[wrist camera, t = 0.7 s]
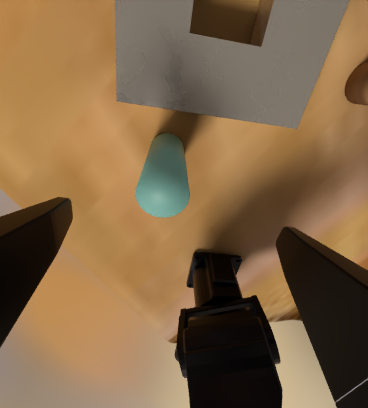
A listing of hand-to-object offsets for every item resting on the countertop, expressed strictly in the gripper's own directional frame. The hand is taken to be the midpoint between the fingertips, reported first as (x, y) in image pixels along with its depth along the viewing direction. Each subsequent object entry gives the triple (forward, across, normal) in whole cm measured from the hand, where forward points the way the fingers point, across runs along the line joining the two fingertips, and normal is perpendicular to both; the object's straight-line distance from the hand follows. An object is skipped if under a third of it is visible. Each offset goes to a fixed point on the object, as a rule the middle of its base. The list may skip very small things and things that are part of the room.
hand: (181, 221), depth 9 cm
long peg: (+13, +1, +1) cm, 13 cm away
